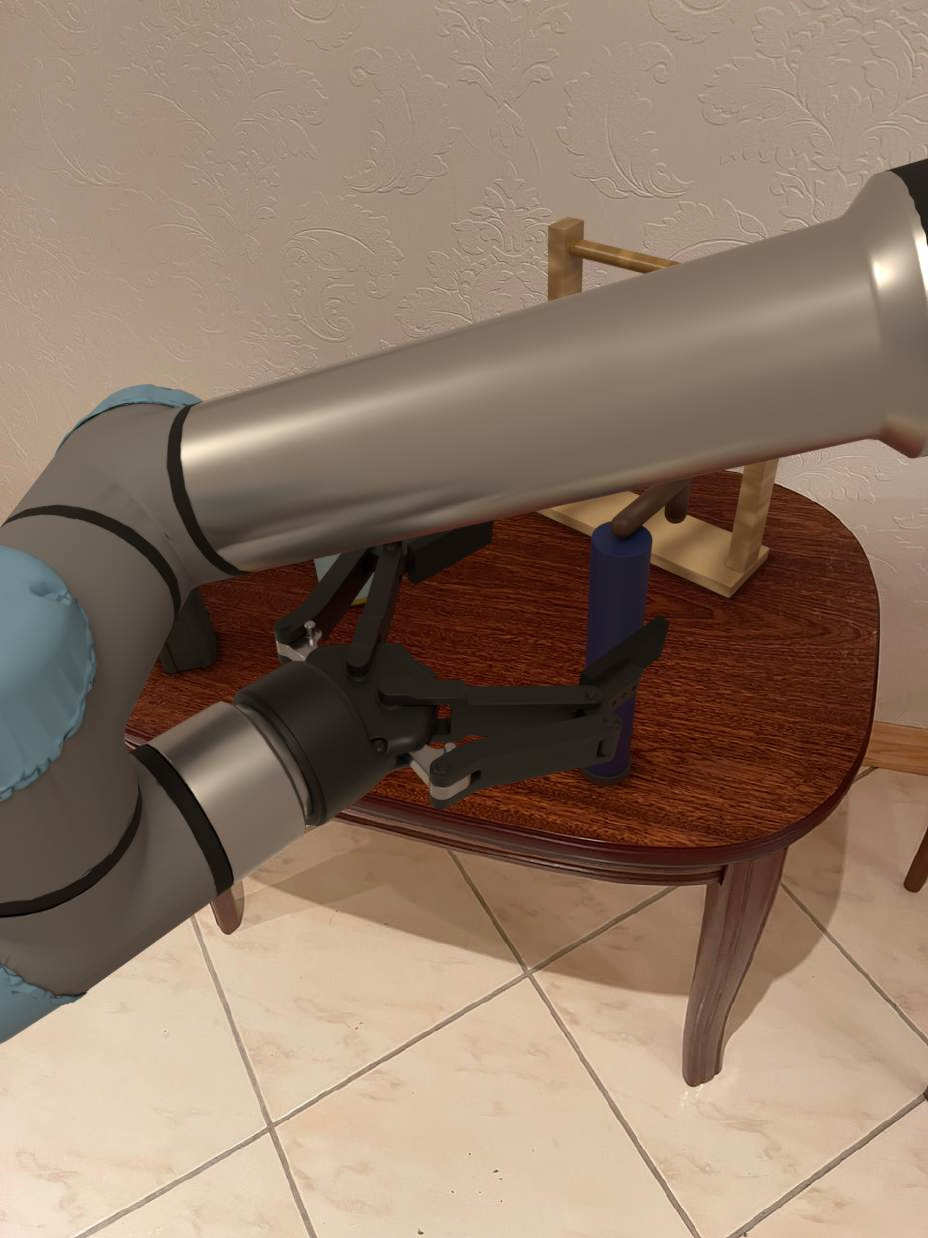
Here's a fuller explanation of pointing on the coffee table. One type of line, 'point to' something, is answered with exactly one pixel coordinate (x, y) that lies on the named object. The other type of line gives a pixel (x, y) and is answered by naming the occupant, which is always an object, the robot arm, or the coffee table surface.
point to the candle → (190, 638)
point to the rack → (675, 547)
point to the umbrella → (624, 597)
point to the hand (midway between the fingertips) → (569, 575)
